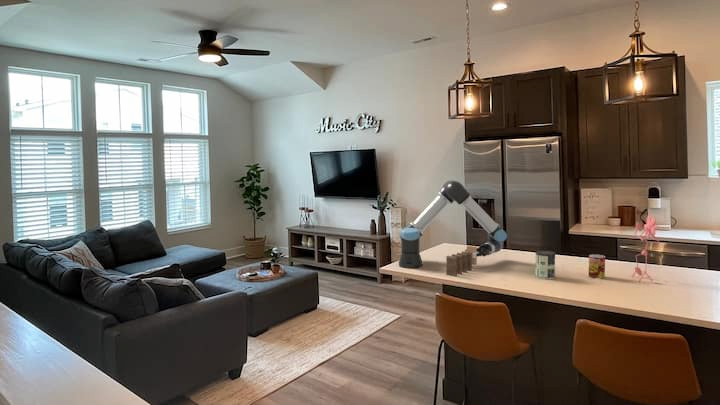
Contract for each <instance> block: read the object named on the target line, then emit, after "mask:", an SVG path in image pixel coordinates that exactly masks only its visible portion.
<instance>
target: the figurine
mask: <svg viewBox="0 0 720 405" xmlns="http://www.w3.org/2000/svg"><path fill="white" fill-rule="evenodd" d="M656 222H657V221H656V218H655V216H654V215H653V216H650V215H648V216H647V218H646V223H645V224H644V225H643V226H642V224H641V223H640V222H638V221H637V222H636V223H635V231H634V237H638V238H640V240H641V242H644V241H645V242H646V246H645V249H643V250H642V251H641V253H640V254H639V253H638V254H637V255H635V259H636V266H635V268H634V273H633V274H632V275H631V278H633V277H634V276H635V275H636V274H637V275H638V276H639V277H640V276H641V277H640V279H638V282H639V281H640V282H641V280H642V279H643V277H644V276H645V275H647V276H646V277H647V278H648V279H649V280H650V281H651V283H654V282H653V280H652V278H651V276H650V275H649V274H648V273H647V267H645V270H643V271H642V269H641V268H640V267H639V264H638V259H637V257H638V256H641V255H642V256H645V265H648V264H647V260H648V259H647V258H648V257H647V256H648V251H647V248H648V246H649V240H647V239H649V238H651V239H654V240H656V241H657V242H658V243H660V240H659V239H658V238H657V237H656V236H655V235H656V230H658V228H659V227H658V225H657V223H656ZM643 228H644V229H643ZM637 230H638V231H639V232H641V234H640V235H637ZM644 233H645V234H644ZM642 235H643V237H642ZM645 238H647V239H645Z"/></svg>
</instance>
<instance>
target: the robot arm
mask: <svg viewBox="0 0 720 405" xmlns="http://www.w3.org/2000/svg"><path fill="white" fill-rule="evenodd" d="M471 196H472V195H471V193H470V192H469V191H468V190H467V189H466V187H465V186H464V185H463V183H461V182H459V181H458V180H453V179H452V180H447V181H446V182H445V183H444V184H443V186H442V187H441V189H440V190H438V192H437V196H436V197H435V198H434V199H433V200H432V202H431V203H430V204H429V205H428V206H427V207H426V208H425V209H424V210H423V211H422V212H421V213H420V214H419V216H418V217H417V218H416V219H415V220H414V221H411V222H409V223H408V224H407V225H406V226H405V227H403V228H402V229H401V231H400V234H399V239H400V243H401V244H400V246H401V248H400V252H401V253H400V257H399V259H398V260H399V261H398V266H399V267H401V268H405V269H416V268H421V267H423V259H422V257H421V254H420V247H421V246H420V238H421V237H422V236H423V235H424V231H425V229H426V228H428V226H429V225H430V224H431V223H432V222H433V221H434V220H435V219H436V218H437V217H438V216H439V215H440V213H441V212H442V211H443V210H444V209H445V208H446V207H447V206H448V205H452V204H453V203H454V202H456V203H457V204H458V206H462V207H463V208H464V210H466V211H467V213H468V214H470V216H471V217H473V219H474V220H475V221H476V222H478V224H479V225H481V227H482V228H483V229H484V230H485V231H486V232H487V242H485V243H483V244H480V245H479V247H477V252H476V253H473V258H475V257H477V258H478V257H486V256H490V255H493V254H495V253H498V252H500V251H501V250H502V249H503V242H505V241H506V240H507V237H508V234H507V233H506V231H505V230H503V229H502V228H501V225H500V224H499V223H497V222H496V221H495V220H493V219H492V218H491V216H490V215H489V214H488V213H487V212H486V211H485V210H484V209H483V208H482V207H481V206H480V205H479V204H478V203H477V202H476V201H475V200H474V199H473V197H471ZM464 252H467V248H466V249H464Z"/></svg>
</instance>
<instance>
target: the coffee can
mask: <svg viewBox="0 0 720 405" xmlns="http://www.w3.org/2000/svg"><path fill="white" fill-rule="evenodd" d="M534 272H535V274H534V276H535V278H537V279H542V280H554V279H556V277H555V276H556V275H555V274H556V252H554V251H551V250H536V251H535V271H534Z"/></svg>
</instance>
